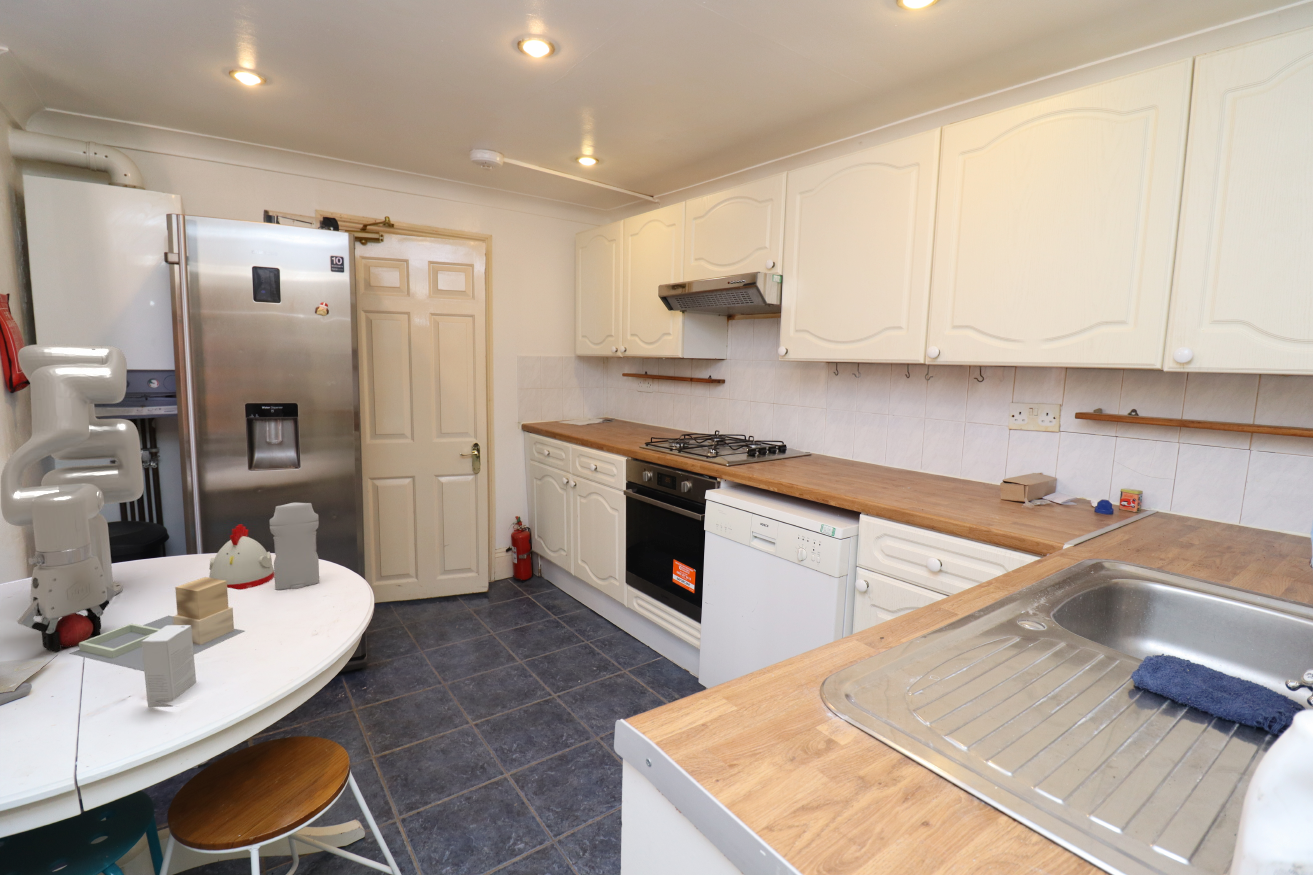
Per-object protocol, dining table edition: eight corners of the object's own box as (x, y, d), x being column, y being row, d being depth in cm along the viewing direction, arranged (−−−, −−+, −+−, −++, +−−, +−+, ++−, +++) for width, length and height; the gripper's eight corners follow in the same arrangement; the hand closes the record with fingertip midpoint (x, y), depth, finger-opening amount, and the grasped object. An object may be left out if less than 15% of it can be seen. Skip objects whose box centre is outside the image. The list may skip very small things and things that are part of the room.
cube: (177, 615, 120) (175, 586, 119) (207, 603, 126) (205, 576, 125) (199, 619, 118) (197, 591, 118) (228, 607, 124) (226, 580, 123)
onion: (68, 657, 114) (64, 618, 113) (45, 653, 115) (41, 614, 114) (102, 643, 120) (98, 605, 119) (79, 639, 121) (75, 602, 120)
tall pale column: (273, 592, 148) (268, 506, 145) (272, 587, 151) (268, 503, 148) (322, 584, 154) (318, 502, 151) (320, 579, 157) (316, 498, 154)
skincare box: (172, 687, 105) (166, 624, 104) (197, 687, 106) (192, 624, 104) (145, 707, 99) (139, 640, 98) (172, 707, 100) (167, 640, 98)
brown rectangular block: (174, 639, 120) (172, 615, 120) (209, 624, 127) (207, 602, 126) (200, 644, 118) (198, 621, 118) (234, 629, 125) (232, 607, 124)
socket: (79, 650, 115) (78, 642, 115) (132, 629, 124) (131, 623, 123) (113, 658, 112) (112, 650, 112) (164, 636, 121) (164, 629, 121)
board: (69, 659, 114) (69, 653, 114) (169, 620, 131) (168, 615, 131) (153, 679, 108) (152, 673, 108) (245, 636, 125) (245, 630, 125)
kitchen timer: (198, 592, 146) (194, 533, 144) (224, 572, 160) (221, 518, 158) (261, 589, 150) (258, 531, 148) (282, 570, 163) (279, 517, 161)
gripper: (20, 572, 106) (30, 666, 108) (128, 544, 122) (135, 626, 125) (-8, 567, 108) (3, 659, 110) (102, 540, 124) (110, 621, 127)
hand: (73, 641), depth 118 cm, fingers closed on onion, 5 cm apart
